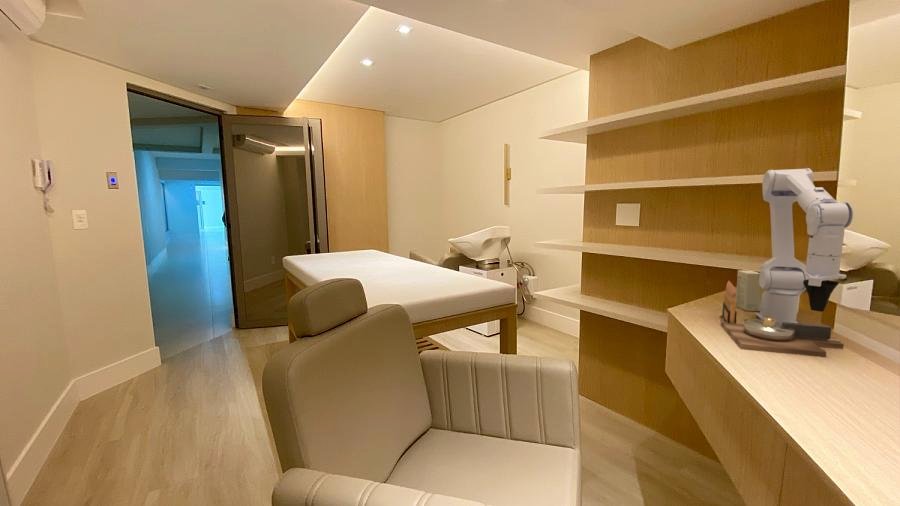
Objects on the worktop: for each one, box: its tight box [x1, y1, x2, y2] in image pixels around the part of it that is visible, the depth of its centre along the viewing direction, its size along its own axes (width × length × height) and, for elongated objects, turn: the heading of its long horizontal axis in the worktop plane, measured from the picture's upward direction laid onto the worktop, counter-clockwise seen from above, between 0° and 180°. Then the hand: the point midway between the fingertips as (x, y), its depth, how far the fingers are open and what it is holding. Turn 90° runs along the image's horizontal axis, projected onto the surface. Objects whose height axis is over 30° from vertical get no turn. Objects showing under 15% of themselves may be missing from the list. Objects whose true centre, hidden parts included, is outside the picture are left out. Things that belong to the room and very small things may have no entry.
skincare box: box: [736, 269, 762, 312], centre depth 123 cm, size 6×4×12 cm
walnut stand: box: [720, 320, 845, 358], centre depth 97 cm, size 18×22×1 cm
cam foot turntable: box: [743, 317, 832, 340], centre depth 97 cm, size 17×10×4 cm, turn 68°
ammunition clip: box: [721, 280, 737, 324], centre depth 111 cm, size 11×2×12 cm, turn 152°
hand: (817, 310), depth 91 cm, fingers closed
